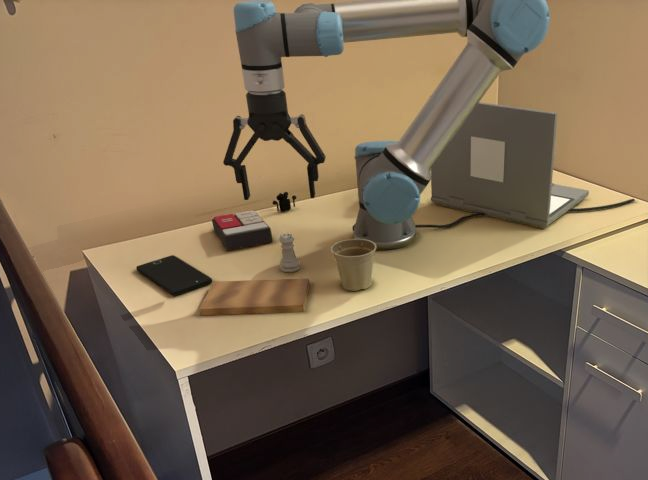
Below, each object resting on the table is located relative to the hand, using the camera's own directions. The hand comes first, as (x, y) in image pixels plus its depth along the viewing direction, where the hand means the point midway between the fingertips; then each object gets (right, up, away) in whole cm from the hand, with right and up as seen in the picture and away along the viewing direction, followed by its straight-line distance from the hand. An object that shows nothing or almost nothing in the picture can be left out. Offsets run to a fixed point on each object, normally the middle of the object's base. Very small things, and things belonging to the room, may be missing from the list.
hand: (280, 197), depth 143 cm
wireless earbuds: (-9, +5, +40) cm, 41 cm away
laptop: (+52, +8, +44) cm, 69 cm away
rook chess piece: (0, -14, +9) cm, 17 cm away
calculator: (-15, -4, +25) cm, 30 cm away
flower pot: (+16, -18, +2) cm, 24 cm away
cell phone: (-25, -16, +6) cm, 30 cm away
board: (-4, -22, -3) cm, 22 cm away
